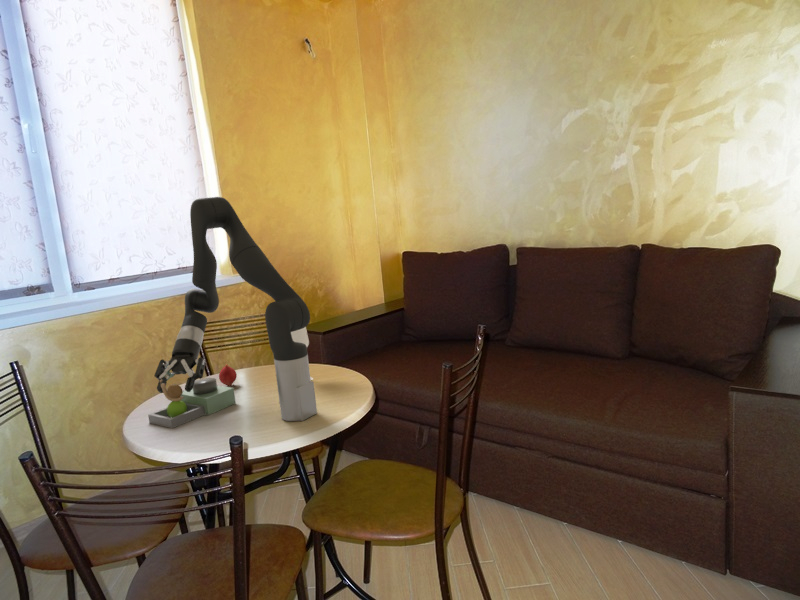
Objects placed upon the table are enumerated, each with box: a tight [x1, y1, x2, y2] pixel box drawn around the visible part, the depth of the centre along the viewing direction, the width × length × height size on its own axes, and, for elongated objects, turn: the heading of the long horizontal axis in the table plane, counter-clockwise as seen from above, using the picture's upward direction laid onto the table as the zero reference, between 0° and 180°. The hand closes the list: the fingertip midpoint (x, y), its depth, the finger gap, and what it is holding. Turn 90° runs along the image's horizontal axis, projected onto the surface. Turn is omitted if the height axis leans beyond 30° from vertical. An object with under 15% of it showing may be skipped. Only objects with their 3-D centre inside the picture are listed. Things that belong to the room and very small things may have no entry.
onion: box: [218, 363, 237, 387], centre depth 179 cm, size 6×6×8 cm
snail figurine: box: [160, 379, 187, 418], centre depth 151 cm, size 5×6×12 cm
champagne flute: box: [291, 326, 314, 381], centre depth 177 cm, size 7×7×24 cm
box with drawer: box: [147, 377, 236, 429], centre depth 155 cm, size 14×21×8 cm, turn 148°
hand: (173, 391), depth 150 cm, fingers open, 8 cm apart
